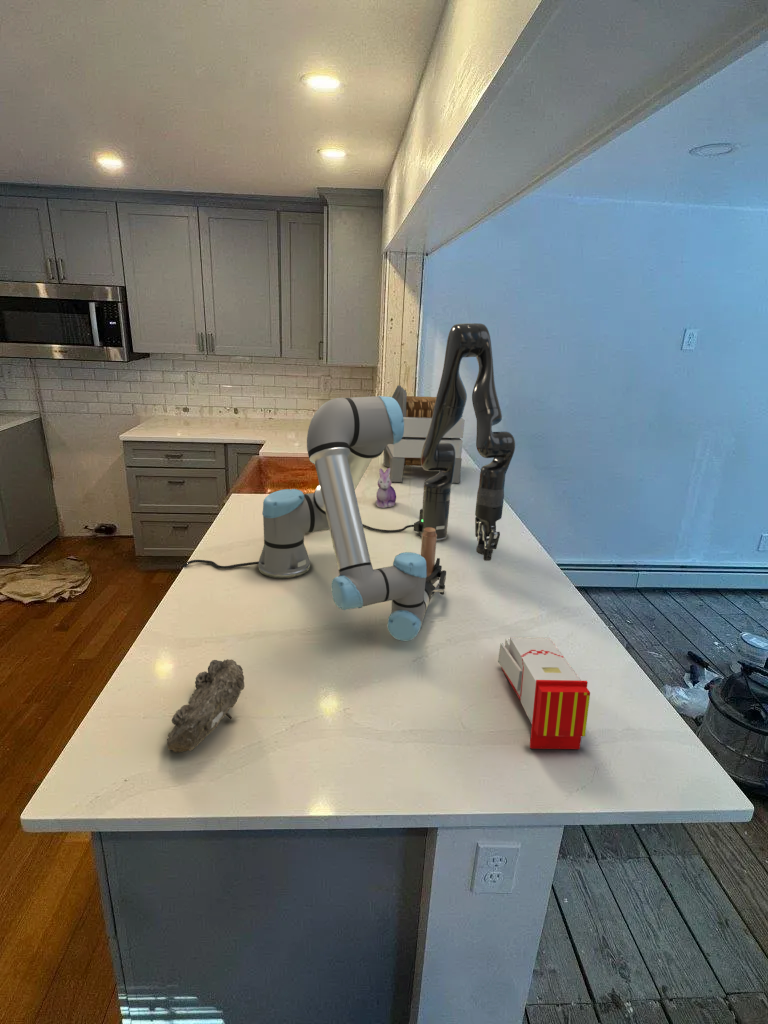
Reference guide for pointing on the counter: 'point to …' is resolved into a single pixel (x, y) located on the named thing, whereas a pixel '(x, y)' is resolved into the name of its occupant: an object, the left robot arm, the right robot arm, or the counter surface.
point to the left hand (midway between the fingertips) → (429, 561)
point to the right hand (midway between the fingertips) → (483, 556)
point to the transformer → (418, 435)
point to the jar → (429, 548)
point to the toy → (546, 691)
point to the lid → (481, 549)
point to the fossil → (206, 705)
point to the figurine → (385, 490)
